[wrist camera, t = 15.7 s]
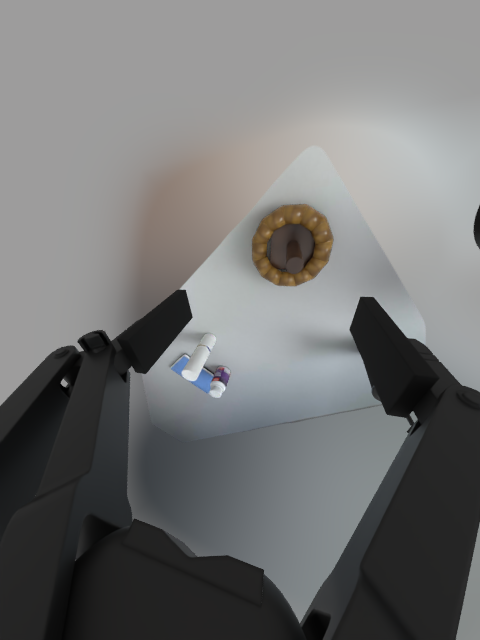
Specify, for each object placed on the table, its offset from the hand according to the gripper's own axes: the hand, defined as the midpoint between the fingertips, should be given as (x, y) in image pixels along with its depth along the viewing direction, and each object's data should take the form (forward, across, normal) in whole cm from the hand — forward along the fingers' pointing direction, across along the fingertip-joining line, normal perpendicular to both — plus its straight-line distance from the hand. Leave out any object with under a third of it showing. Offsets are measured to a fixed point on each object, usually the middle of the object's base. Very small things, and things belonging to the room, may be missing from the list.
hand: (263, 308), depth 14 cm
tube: (+29, -21, -29) cm, 46 cm away
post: (+29, +2, -1) cm, 29 cm away
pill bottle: (+29, -18, -44) cm, 56 cm away
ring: (+26, +2, -1) cm, 26 cm away
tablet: (+29, -29, -48) cm, 63 cm away
